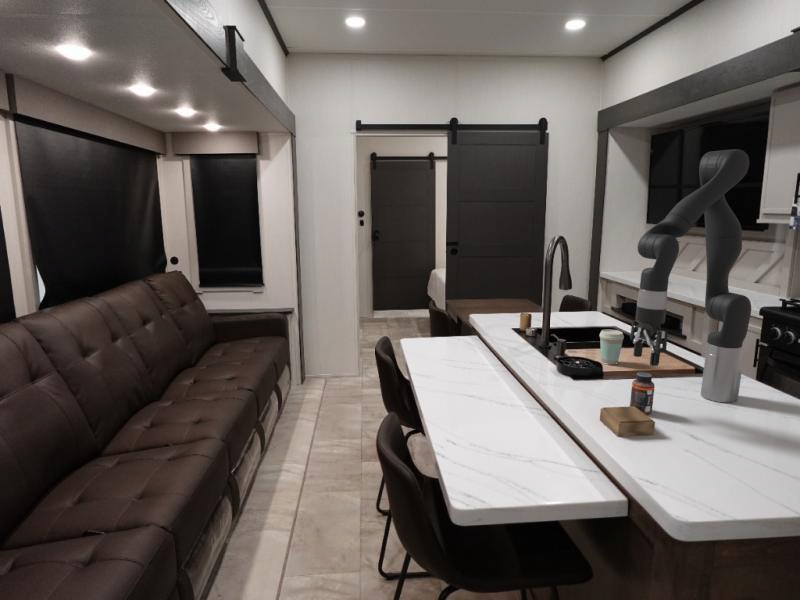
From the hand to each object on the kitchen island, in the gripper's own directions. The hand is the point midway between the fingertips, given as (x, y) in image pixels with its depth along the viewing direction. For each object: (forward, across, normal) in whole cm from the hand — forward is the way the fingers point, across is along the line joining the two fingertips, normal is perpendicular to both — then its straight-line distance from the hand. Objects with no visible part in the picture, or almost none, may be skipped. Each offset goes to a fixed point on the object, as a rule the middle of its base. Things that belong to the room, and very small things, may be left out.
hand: (645, 360), depth 152 cm
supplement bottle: (+16, 0, 0) cm, 16 cm away
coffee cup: (+15, +44, -13) cm, 48 cm away
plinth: (+15, -10, +10) cm, 21 cm away
